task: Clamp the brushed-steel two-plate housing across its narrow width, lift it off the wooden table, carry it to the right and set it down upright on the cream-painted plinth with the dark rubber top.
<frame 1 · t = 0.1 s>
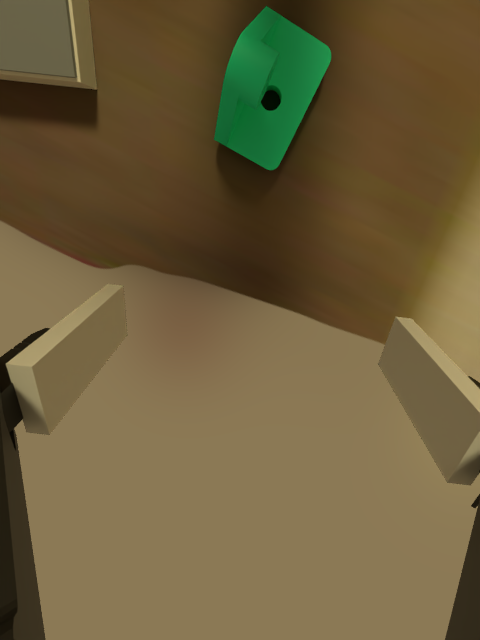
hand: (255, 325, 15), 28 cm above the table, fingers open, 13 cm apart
plinth: (19, 17, 32), on the table
camera mount: (270, 102, 34), on the table
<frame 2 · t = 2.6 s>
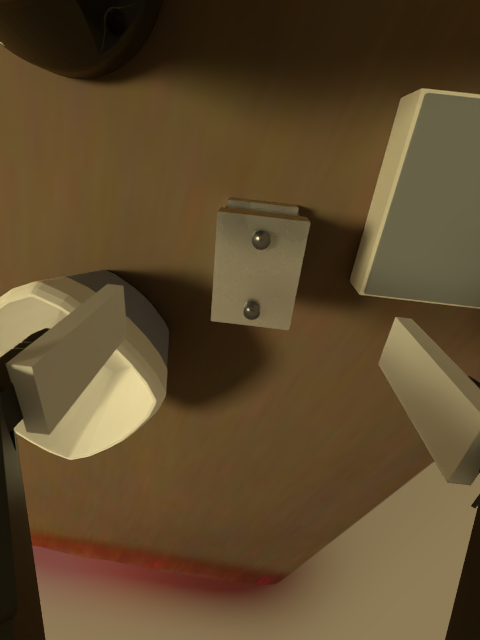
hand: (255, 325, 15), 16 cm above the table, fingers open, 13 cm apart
plinth: (434, 208, 27), on the table
bowl: (113, 323, 35), on the table
housing: (257, 245, 30), on the table
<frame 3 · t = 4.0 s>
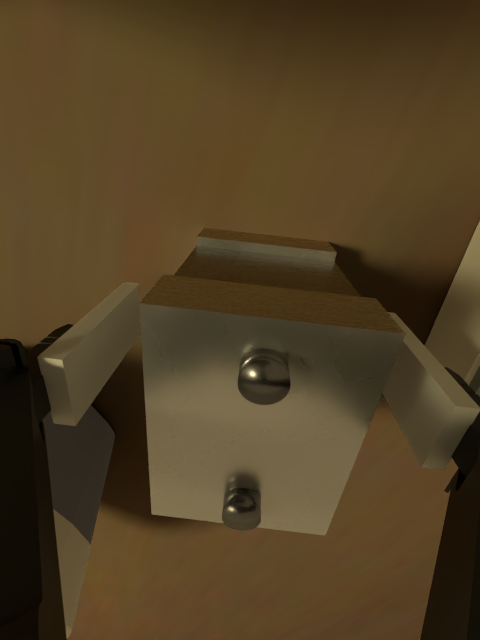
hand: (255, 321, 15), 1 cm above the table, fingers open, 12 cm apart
bowl: (28, 419, 22), on the table
housing: (256, 309, 17), on the table
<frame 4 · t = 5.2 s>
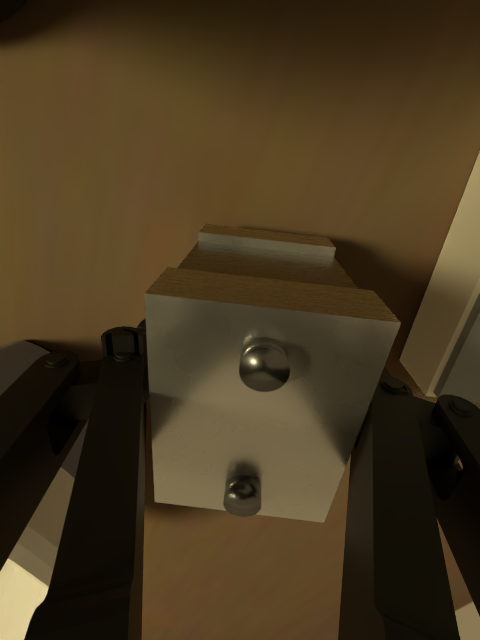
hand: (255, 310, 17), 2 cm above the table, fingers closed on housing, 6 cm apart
bowl: (46, 410, 24), on the table
housing: (256, 304, 17), point 2 cm above the table, touching gripper
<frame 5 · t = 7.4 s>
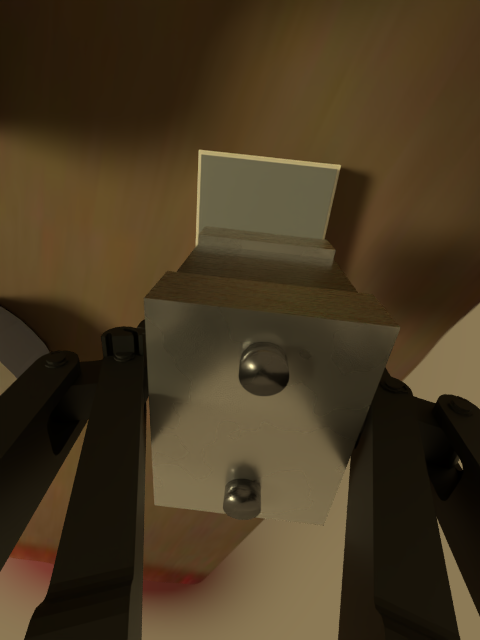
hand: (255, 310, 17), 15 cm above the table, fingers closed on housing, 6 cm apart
plinth: (257, 244, 30), on the table
housing: (256, 306, 17), point 15 cm above the table, touching gripper
when the fingers open (5 cm above the table, at t = 9.5 s): housing stays where it is, resting on plinth.
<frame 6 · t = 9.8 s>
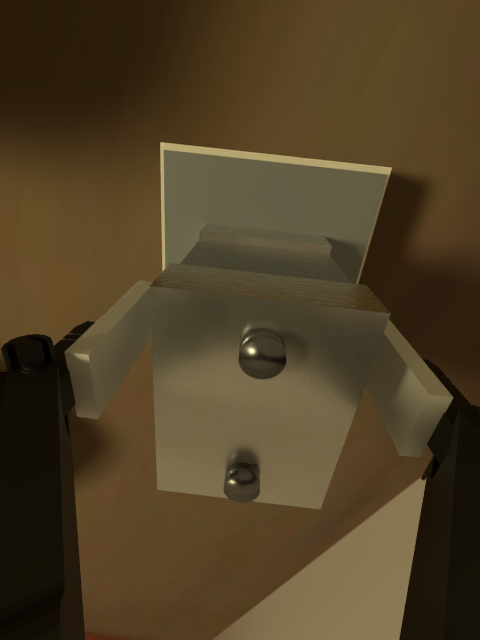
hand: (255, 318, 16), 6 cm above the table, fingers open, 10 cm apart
plinth: (257, 279, 21), on the table
housing: (255, 301, 17), point 4 cm above the table, touching plinth
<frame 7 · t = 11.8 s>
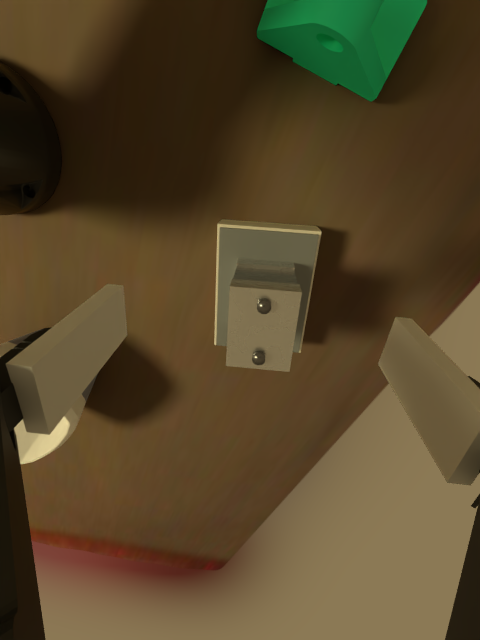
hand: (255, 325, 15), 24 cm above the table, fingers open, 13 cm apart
plinth: (262, 283, 39), on the table
bowl: (58, 363, 47), on the table
housing: (262, 294, 35), point 4 cm above the table, touching plinth
camera mount: (334, 26, 28), on the table
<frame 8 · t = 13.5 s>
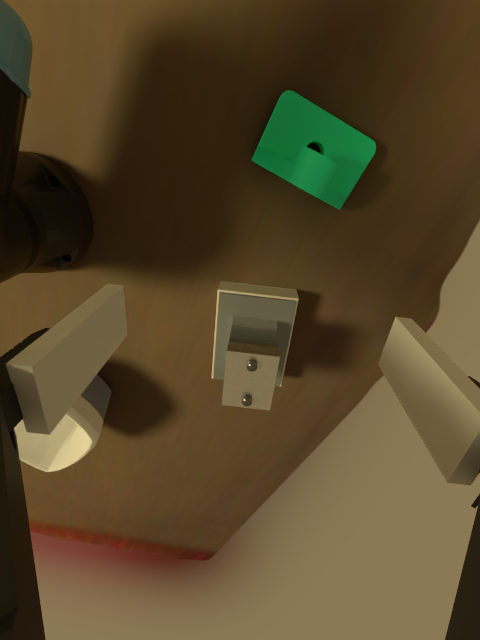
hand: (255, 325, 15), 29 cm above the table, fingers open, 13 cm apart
plinth: (252, 329, 48), on the table
bowl: (77, 385, 56), on the table
housing: (251, 342, 44), point 4 cm above the table, touching plinth
camera mount: (310, 153, 37), on the table
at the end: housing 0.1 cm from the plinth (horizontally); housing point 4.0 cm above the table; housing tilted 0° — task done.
